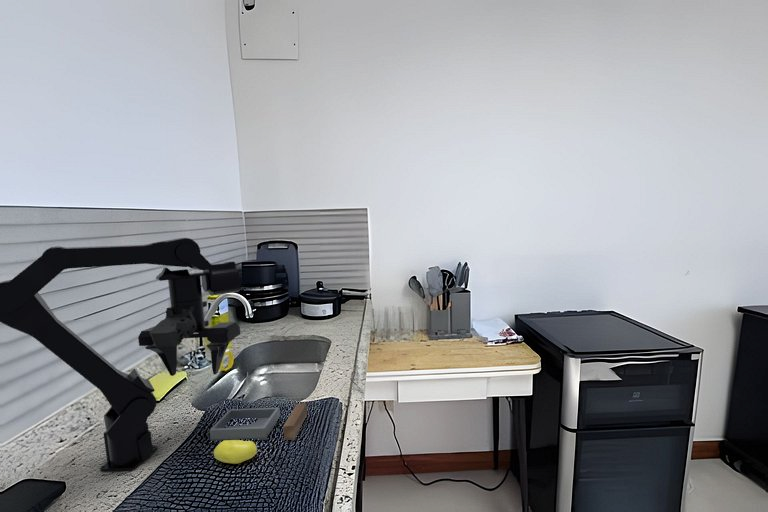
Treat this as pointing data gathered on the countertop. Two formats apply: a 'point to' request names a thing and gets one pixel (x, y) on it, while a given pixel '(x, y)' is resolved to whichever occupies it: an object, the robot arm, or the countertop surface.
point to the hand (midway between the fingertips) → (194, 374)
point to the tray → (245, 431)
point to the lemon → (235, 451)
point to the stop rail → (295, 421)
